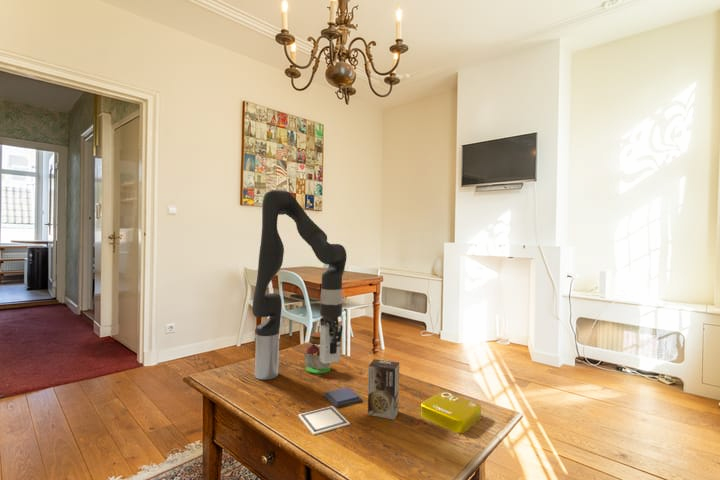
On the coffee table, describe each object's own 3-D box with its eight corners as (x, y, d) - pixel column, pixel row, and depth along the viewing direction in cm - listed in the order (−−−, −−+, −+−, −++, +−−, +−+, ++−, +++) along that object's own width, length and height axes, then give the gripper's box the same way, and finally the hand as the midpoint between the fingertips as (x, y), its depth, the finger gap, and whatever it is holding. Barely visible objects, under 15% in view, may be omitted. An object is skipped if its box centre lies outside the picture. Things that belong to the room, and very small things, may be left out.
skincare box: (324, 364, 114) (325, 328, 114) (318, 360, 118) (319, 325, 118) (340, 361, 117) (341, 326, 117) (334, 357, 121) (335, 323, 121)
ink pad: (323, 395, 122) (323, 391, 122) (348, 390, 127) (348, 385, 127) (336, 407, 114) (336, 403, 114) (361, 401, 119) (362, 396, 119)
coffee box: (398, 410, 113) (400, 362, 113) (394, 420, 107) (395, 369, 107) (372, 405, 116) (373, 358, 116) (366, 414, 110) (368, 364, 110)
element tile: (418, 417, 110) (418, 402, 110) (442, 402, 121) (442, 388, 121) (461, 436, 100) (461, 420, 100) (483, 418, 110) (483, 403, 110)
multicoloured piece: (303, 364, 152) (304, 330, 152) (331, 363, 153) (332, 330, 153) (301, 374, 140) (302, 338, 140) (332, 374, 142) (333, 338, 142)
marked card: (298, 415, 108) (298, 414, 108) (332, 407, 114) (332, 405, 114) (313, 435, 97) (313, 433, 97) (349, 424, 104) (349, 422, 104)
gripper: (313, 299, 122) (312, 347, 122) (329, 306, 110) (328, 359, 109) (332, 297, 126) (331, 344, 126) (350, 304, 113) (349, 356, 113)
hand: (330, 351), depth 117 cm, fingers closed on skincare box, 4 cm apart
